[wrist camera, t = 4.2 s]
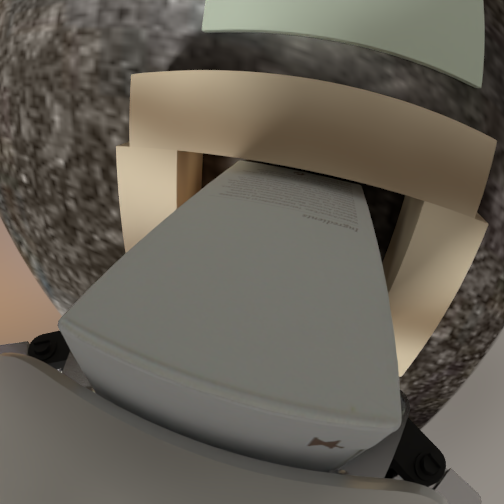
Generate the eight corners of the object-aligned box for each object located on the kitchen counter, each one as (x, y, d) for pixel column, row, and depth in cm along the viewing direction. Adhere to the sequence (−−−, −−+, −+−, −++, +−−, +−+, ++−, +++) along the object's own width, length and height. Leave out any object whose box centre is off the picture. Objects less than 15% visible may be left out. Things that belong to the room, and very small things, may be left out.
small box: (239, 156, 12) (44, 311, 4) (364, 183, 11) (414, 428, 3) (228, 295, 17) (139, 459, 8) (322, 319, 16) (286, 506, 7)
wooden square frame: (149, 76, 11) (117, 76, 9) (483, 138, 8) (511, 148, 6) (160, 318, 20) (143, 341, 18) (377, 374, 17) (377, 404, 15)
